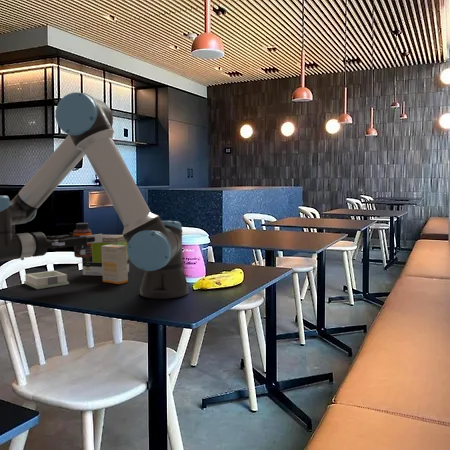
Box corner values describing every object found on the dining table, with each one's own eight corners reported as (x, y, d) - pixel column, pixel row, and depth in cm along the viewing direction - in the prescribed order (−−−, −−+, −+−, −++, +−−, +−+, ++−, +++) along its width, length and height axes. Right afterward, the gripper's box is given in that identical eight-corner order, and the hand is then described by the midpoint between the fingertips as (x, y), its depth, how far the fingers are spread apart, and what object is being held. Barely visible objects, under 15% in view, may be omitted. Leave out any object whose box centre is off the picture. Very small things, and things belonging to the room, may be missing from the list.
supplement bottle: (87, 258, 163) (85, 224, 162) (71, 258, 164) (69, 224, 163) (95, 255, 169) (94, 222, 168) (79, 255, 170) (78, 222, 169)
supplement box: (128, 282, 174) (127, 245, 173) (118, 284, 170) (117, 247, 169) (112, 279, 178) (111, 243, 177) (101, 282, 174) (100, 245, 173)
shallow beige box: (68, 284, 171) (68, 274, 171) (37, 289, 164) (36, 279, 164) (54, 278, 180) (54, 270, 180) (24, 283, 173) (23, 274, 173)
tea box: (129, 272, 192) (128, 234, 191) (118, 277, 183) (117, 237, 181) (95, 270, 196) (93, 233, 195) (81, 275, 186) (80, 236, 185)
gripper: (18, 254, 160) (82, 245, 177) (45, 260, 147) (112, 250, 164) (16, 231, 159) (81, 224, 176) (44, 235, 146) (111, 227, 163)
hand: (96, 237), depth 170 cm, fingers closed on supplement bottle, 6 cm apart
